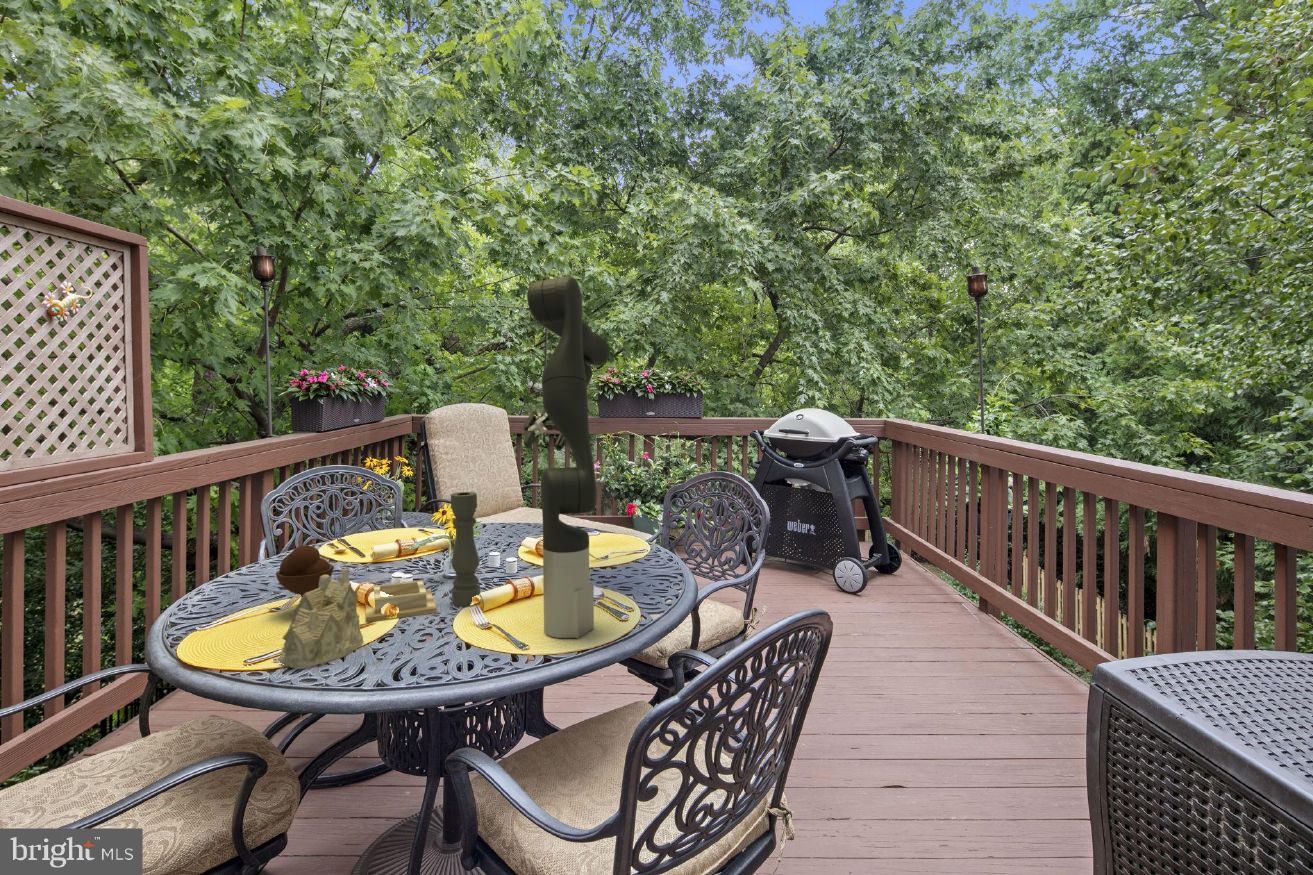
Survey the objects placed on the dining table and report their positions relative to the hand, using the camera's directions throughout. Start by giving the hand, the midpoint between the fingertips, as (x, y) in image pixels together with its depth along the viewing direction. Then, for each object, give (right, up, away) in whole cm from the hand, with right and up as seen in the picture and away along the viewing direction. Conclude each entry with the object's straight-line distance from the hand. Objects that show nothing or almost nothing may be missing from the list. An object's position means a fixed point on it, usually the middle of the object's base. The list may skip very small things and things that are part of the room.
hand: (541, 447), depth 152 cm
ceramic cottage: (-38, -38, -30) cm, 61 cm away
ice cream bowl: (-49, -36, -11) cm, 62 cm away
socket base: (-30, -36, -8) cm, 47 cm away
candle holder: (-16, -35, -4) cm, 39 cm away
